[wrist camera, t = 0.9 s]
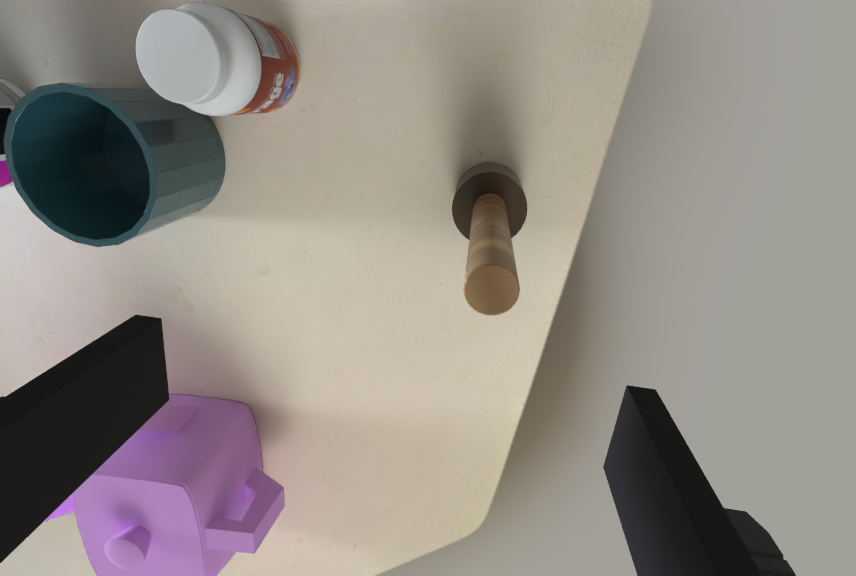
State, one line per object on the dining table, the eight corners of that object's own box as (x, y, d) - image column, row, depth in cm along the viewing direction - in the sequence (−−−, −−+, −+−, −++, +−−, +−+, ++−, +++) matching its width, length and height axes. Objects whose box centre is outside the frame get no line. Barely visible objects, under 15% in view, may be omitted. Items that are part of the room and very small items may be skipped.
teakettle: (218, 542, 55) (148, 660, 44) (92, 440, 52) (-20, 539, 40) (321, 462, 50) (272, 573, 38) (187, 344, 46) (89, 426, 35)
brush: (507, 150, 37) (528, 208, 19) (532, 212, 39) (574, 321, 20) (445, 179, 39) (407, 259, 20) (471, 237, 40) (459, 362, 21)
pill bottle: (256, 128, 39) (172, 141, 28) (204, 53, 37) (96, 38, 27) (320, 82, 37) (255, 77, 27) (268, 1, 36) (180, -36, 25)
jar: (178, 61, 38) (90, 52, 29) (249, 185, 40) (187, 209, 32) (79, 121, 40) (-28, 128, 32) (152, 234, 43) (71, 268, 34)
